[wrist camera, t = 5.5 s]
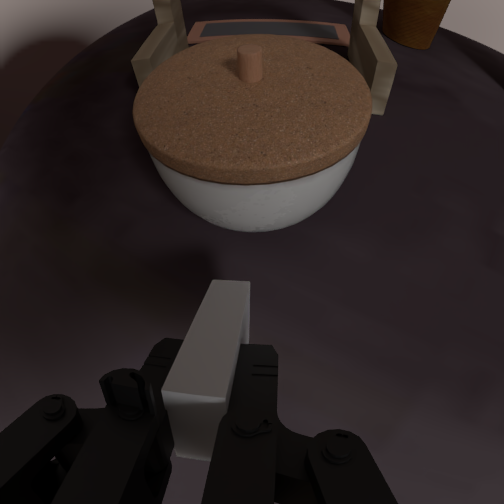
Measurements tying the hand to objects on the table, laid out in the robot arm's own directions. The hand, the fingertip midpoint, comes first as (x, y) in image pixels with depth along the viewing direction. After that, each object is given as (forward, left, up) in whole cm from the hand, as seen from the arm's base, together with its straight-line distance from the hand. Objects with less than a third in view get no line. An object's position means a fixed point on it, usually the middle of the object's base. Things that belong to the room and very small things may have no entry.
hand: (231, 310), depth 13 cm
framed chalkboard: (0, -32, -3) cm, 32 cm away
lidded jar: (0, -9, -3) cm, 9 cm away
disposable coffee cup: (-17, -35, -3) cm, 39 cm away
